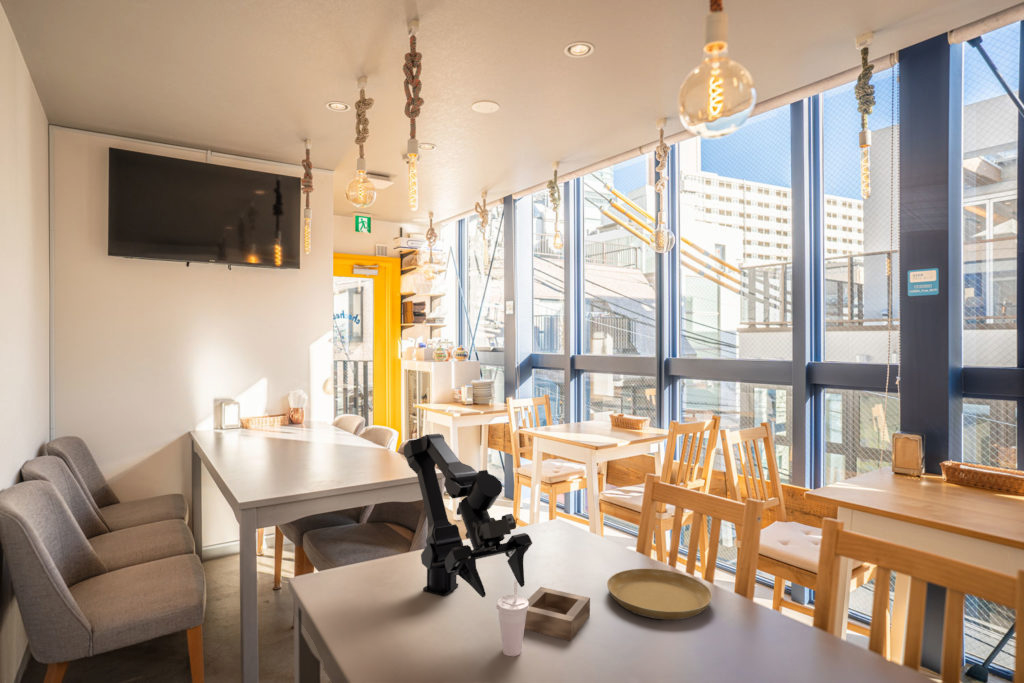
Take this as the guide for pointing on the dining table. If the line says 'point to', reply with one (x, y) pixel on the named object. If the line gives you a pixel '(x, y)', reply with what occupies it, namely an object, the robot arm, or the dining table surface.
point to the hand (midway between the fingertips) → (503, 591)
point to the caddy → (557, 613)
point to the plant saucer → (659, 593)
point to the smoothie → (512, 621)
